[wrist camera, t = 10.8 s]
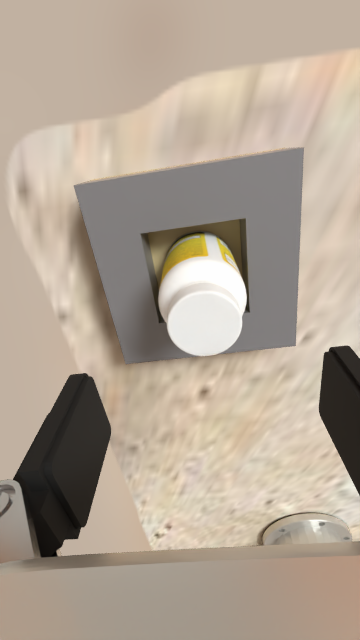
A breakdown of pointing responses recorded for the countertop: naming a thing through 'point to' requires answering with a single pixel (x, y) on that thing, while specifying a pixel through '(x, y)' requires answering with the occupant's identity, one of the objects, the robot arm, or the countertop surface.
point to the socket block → (199, 215)
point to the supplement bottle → (202, 294)
